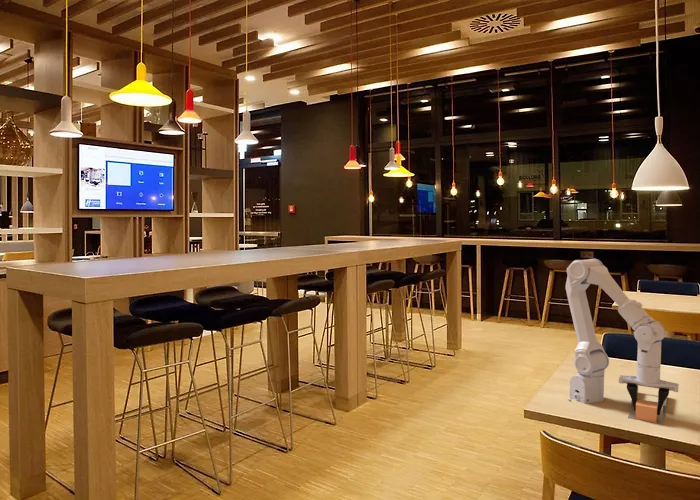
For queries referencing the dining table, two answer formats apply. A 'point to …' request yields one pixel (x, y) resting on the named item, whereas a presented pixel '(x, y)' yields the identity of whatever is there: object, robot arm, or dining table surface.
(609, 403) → the dining table surface
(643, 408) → the block
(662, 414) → the channel
